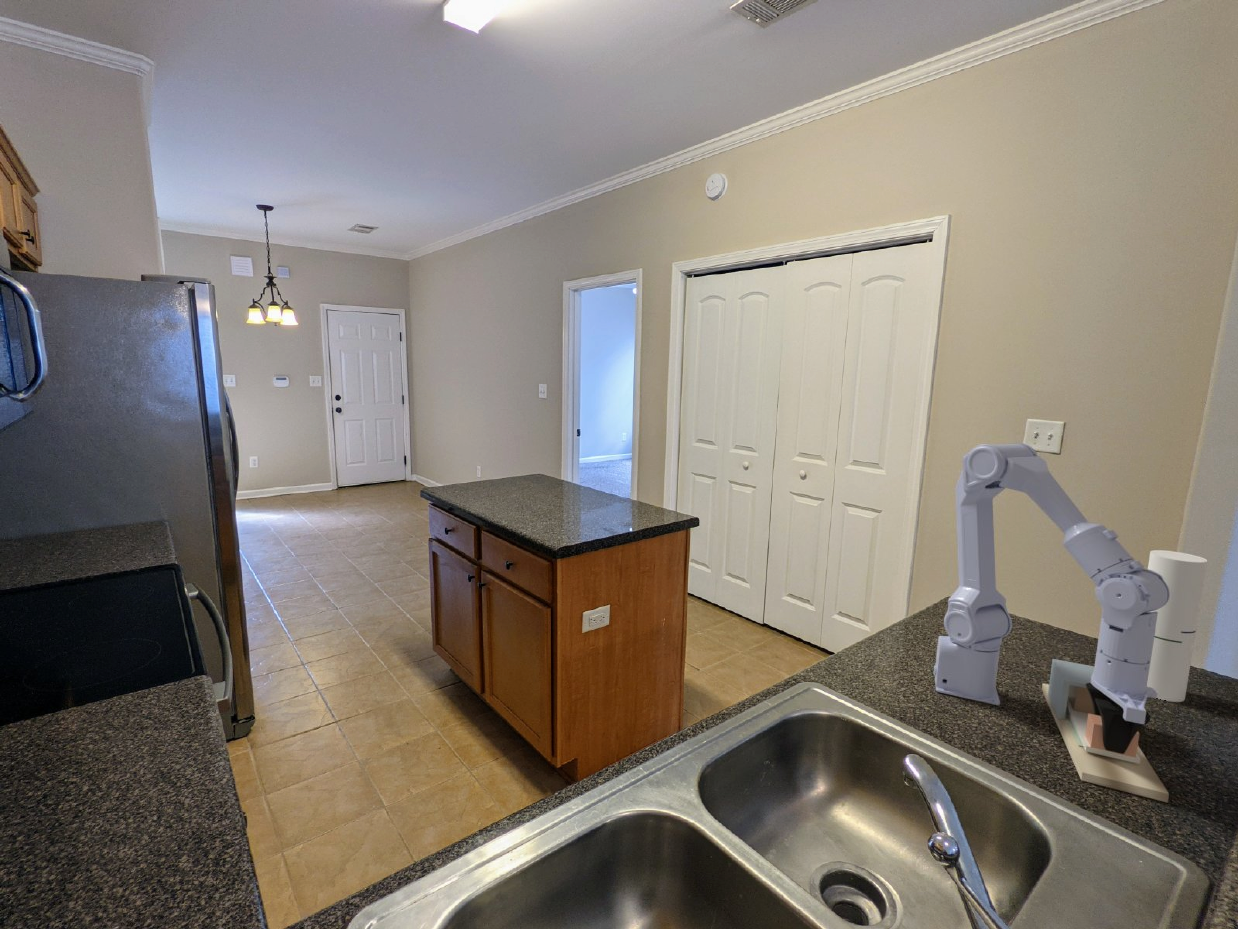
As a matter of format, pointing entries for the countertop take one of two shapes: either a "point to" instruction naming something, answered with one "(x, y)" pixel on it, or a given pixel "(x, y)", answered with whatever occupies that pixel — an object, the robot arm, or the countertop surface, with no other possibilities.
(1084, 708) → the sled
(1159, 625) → the cylindrical container
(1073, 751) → the board
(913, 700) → the countertop surface
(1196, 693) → the countertop surface
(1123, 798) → the countertop surface
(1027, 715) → the countertop surface
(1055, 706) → the tunnel
